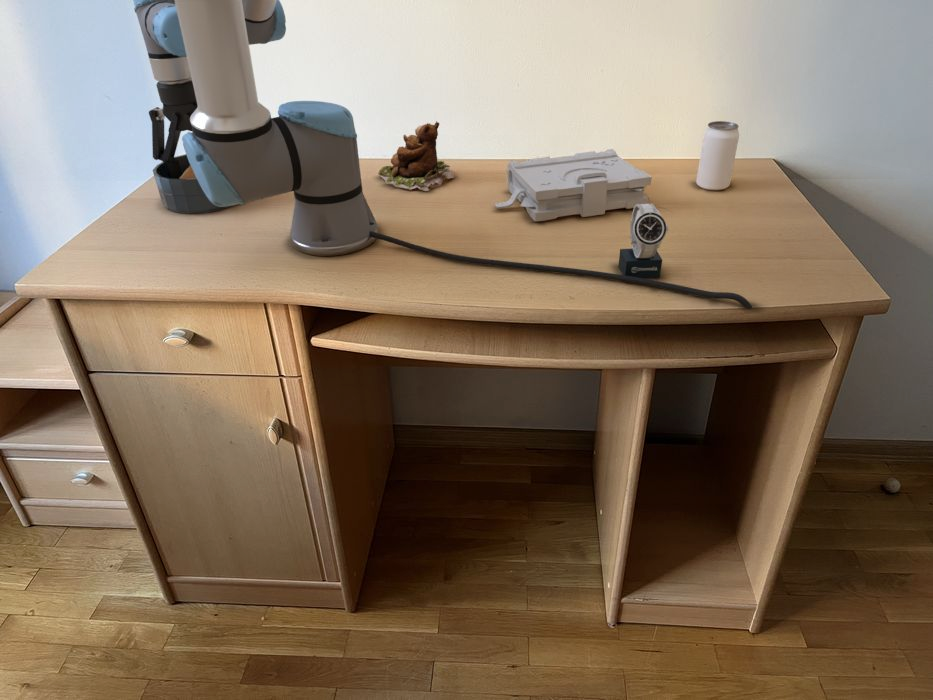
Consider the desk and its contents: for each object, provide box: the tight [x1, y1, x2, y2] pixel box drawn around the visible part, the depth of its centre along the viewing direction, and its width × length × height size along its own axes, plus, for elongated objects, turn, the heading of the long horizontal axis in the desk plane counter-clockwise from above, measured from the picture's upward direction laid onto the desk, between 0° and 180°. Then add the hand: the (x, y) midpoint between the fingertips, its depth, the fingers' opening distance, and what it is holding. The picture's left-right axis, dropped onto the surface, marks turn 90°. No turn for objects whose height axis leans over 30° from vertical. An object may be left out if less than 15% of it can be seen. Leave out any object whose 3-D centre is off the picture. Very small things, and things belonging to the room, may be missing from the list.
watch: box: [617, 203, 670, 279], centre depth 103 cm, size 6×8×11 cm
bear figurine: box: [378, 120, 455, 192], centre depth 141 cm, size 14×15×12 cm
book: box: [493, 148, 652, 222], centre depth 130 cm, size 19×28×8 cm
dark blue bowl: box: [152, 153, 234, 215], centre depth 137 cm, size 17×17×7 cm
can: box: [695, 120, 740, 192], centre depth 133 cm, size 6×6×12 cm
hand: (206, 193), depth 138 cm, fingers closed on bread roll, 10 cm apart
